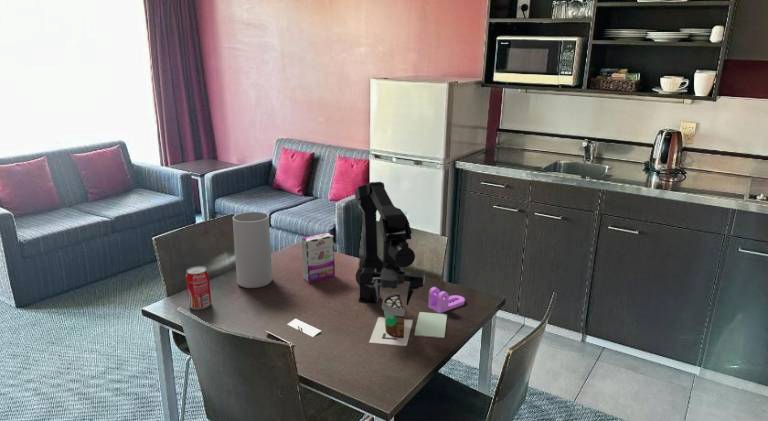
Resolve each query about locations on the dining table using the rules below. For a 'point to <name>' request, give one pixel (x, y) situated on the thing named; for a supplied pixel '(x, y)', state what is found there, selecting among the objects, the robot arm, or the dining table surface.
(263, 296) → the dining table surface
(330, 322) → the dining table surface
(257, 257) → the cylinder vase
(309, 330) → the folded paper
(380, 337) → the pad
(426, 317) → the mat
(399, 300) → the food container
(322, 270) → the candy bar box
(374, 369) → the dining table surface
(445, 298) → the bracket
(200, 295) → the soda can
